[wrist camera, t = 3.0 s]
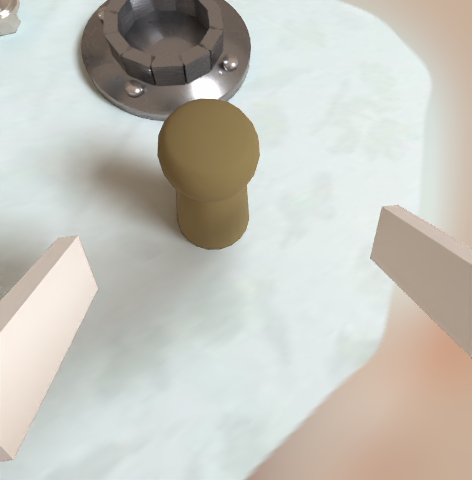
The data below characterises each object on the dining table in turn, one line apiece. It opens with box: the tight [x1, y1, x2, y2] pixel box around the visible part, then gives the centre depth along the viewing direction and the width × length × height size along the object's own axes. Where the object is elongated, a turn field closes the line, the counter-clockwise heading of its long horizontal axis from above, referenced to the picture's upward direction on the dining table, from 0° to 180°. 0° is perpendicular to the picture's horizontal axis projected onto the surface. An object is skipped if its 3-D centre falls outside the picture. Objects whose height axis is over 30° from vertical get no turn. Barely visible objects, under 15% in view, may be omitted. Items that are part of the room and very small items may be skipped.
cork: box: [158, 98, 260, 249], centre depth 18 cm, size 6×6×11 cm
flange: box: [81, 0, 251, 121], centre depth 26 cm, size 16×16×3 cm
